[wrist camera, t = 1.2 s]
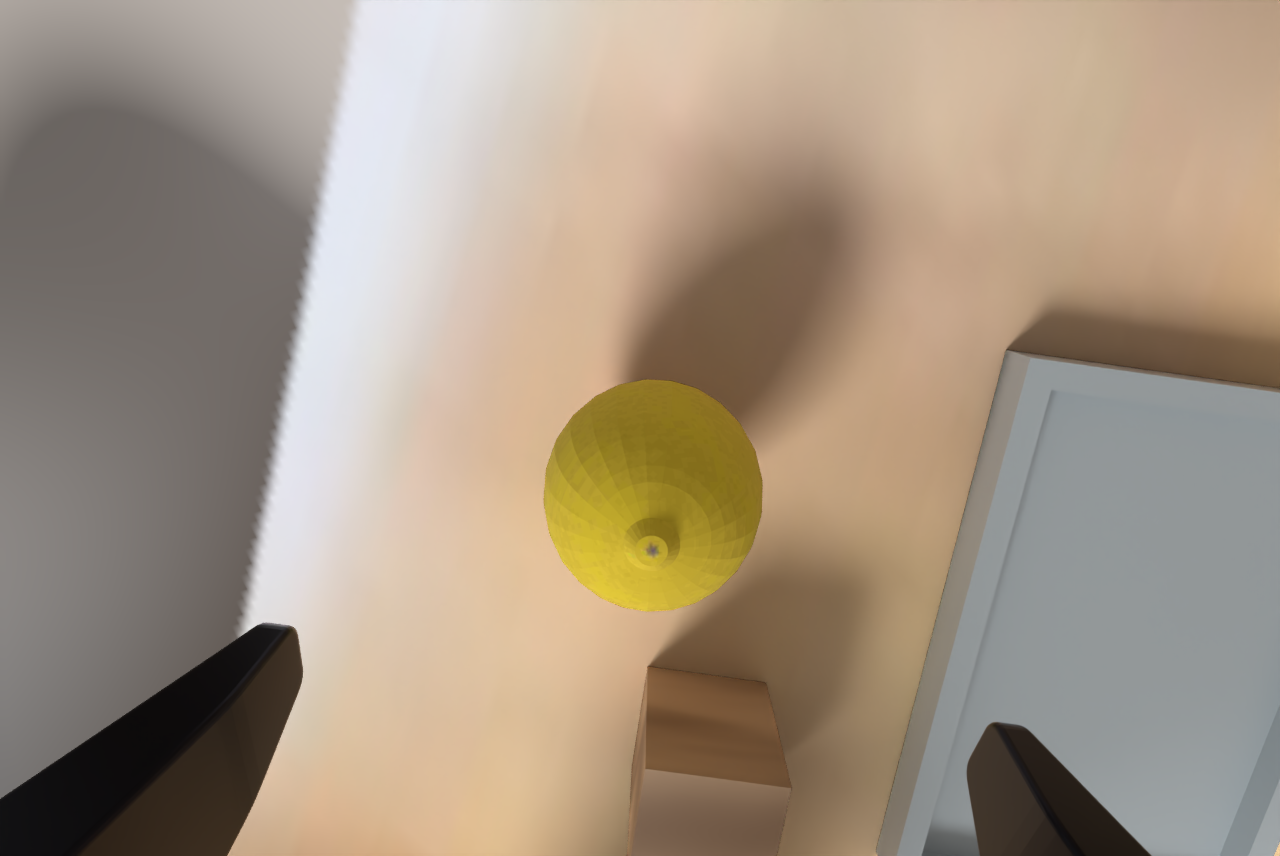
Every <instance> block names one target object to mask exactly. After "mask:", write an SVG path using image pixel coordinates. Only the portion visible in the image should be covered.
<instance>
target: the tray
mask: <svg viewBox="0 0 1280 856" xmlns="http://www.w3.org/2000/svg"><path fill="white" fill-rule="evenodd" d="M992 722H1002V723H1010V724H1017V725H1021V726H1024V727H1025V728H1027V729H1028V730H1029V731H1030V732H1032V733H1033V734H1034V735H1035V736H1036V738H1037V739H1038V740H1039V741H1040V742H1041V743H1042V744H1043V745H1044V746H1045V747H1046V748H1047V749H1048V750H1049V751H1050V752H1051V753H1052V754H1053V755H1054V756H1055V757H1056V758H1057V759H1058V760H1059V761H1060V762H1061V763H1062V764H1063V765H1064V766H1065V767H1066V768H1067V769H1068V770H1069V771H1070V772H1071V773H1072V774H1073V775H1074V776H1075V777H1076V779H1077V780H1078V781H1079V782H1080V783H1081V784H1082V785H1083V786H1084V787H1085V788H1086V789H1087V790H1088V791H1089V792H1090V793H1091V794H1092V795H1093V796H1094V797H1095V798H1096V799H1097V800H1098V801H1099V802H1100V803H1101V804H1102V805H1103V806H1104V807H1105V808H1106V809H1107V810H1108V811H1109V812H1110V813H1111V814H1112V815H1113V816H1114V817H1115V819H1116V820H1117V821H1118V822H1119V823H1120V824H1121V825H1122V826H1123V827H1124V828H1125V829H1126V830H1127V831H1128V832H1129V833H1130V834H1131V835H1132V836H1133V837H1134V838H1135V839H1136V840H1137V841H1138V842H1139V843H1140V844H1141V845H1142V846H1143V847H1144V848H1145V849H1146V850H1147V851H1148V852H1149V853H1150V854H1151V855H1152V856H1274V854H1275V852H1276V849H1277V847H1278V845H1279V842H1280V388H1274V387H1267V386H1260V385H1253V384H1246V383H1238V382H1231V381H1224V380H1217V379H1210V378H1203V377H1196V376H1189V375H1182V374H1174V373H1167V372H1160V371H1153V370H1146V369H1139V368H1132V367H1125V366H1117V365H1110V364H1103V363H1096V362H1089V361H1082V360H1075V359H1068V358H1061V357H1053V356H1046V355H1039V354H1032V353H1025V352H1018V351H1011V350H1006V352H1005V356H1004V360H1003V364H1002V368H1001V371H1000V375H999V379H998V383H997V387H996V391H995V395H994V398H993V402H992V406H991V410H990V414H989V418H988V422H987V425H986V429H985V433H984V437H983V441H982V445H981V448H980V452H979V456H978V460H977V464H976V468H975V472H974V475H973V479H972V483H971V487H970V491H969V495H968V498H967V502H966V506H965V510H964V514H963V518H962V522H961V525H960V529H959V533H958V537H957V541H956V545H955V549H954V552H953V556H952V560H951V564H950V568H949V572H948V575H947V579H946V583H945V587H944V591H943V595H942V599H941V602H940V606H939V610H938V614H937V618H936V622H935V626H934V629H933V633H932V637H931V641H930V645H929V649H928V652H927V656H926V660H925V664H924V668H923V672H922V676H921V679H920V683H919V687H918V691H917V695H916V699H915V703H914V706H913V710H912V714H911V718H910V722H909V726H908V729H907V733H906V737H905V741H904V745H903V749H902V753H901V756H900V760H899V764H898V768H897V772H896V776H895V780H894V783H893V787H892V791H891V795H890V799H889V803H888V806H887V810H886V814H885V818H884V822H883V826H882V830H881V833H880V837H879V841H878V845H877V849H876V852H877V855H878V856H980V855H979V849H978V843H977V837H976V831H975V825H974V819H973V813H972V807H971V801H970V795H969V789H968V783H967V772H966V771H967V764H968V761H969V758H970V756H971V754H972V752H973V751H974V749H975V747H976V745H977V743H978V741H979V740H980V738H981V736H982V734H983V732H984V731H985V729H986V727H987V726H988V725H989V724H991V723H992Z"/></svg>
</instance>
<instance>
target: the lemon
mask: <svg viewBox="0 0 1280 856" xmlns="http://www.w3.org/2000/svg"><path fill="white" fill-rule="evenodd" d="M544 507H545V513H546V518H547V524H548V529H549V533H550V536H551V538H552V540H553V543H554V545H555V547H556V549H557V551H558V553H559V555H560V557H561V559H562V561H563V563H564V564H565V565H566V566H567V568H568V569H569V570H570V571H571V572H572V574H573V575H574V576H575V577H576V578H577V580H578V581H579V582H580V583H581V584H583V585H584V586H585V587H587V588H588V589H589V590H591V591H592V592H593V593H595V594H596V595H597V596H599V597H600V598H602V599H604V600H607V601H609V602H611V603H614V604H616V605H618V606H621V607H623V608H629V609H635V610H641V611H647V612H648V611H666V610H674V609H677V608H681V607H684V606H687V605H691V604H694V603H696V602H698V601H700V600H701V599H703V598H705V597H707V596H708V595H710V594H712V593H713V592H715V591H716V590H718V589H719V588H720V587H721V586H722V585H723V584H724V583H725V582H726V581H727V580H728V579H729V578H730V577H731V576H732V575H733V574H734V573H736V572H737V570H738V568H739V567H740V565H741V563H742V562H743V560H744V559H745V557H746V555H747V554H748V552H749V550H750V549H751V547H752V545H753V542H754V538H755V535H756V532H757V528H758V525H759V521H760V518H761V513H762V477H761V473H760V469H759V465H758V461H757V456H756V452H755V449H754V448H753V446H752V444H751V442H750V440H749V439H748V437H747V435H746V433H745V431H744V430H743V428H742V426H741V424H740V423H739V422H738V421H737V420H736V419H735V418H734V417H733V416H732V415H731V414H730V412H729V411H728V410H727V409H726V408H725V407H724V406H723V405H722V404H721V403H720V402H718V401H717V400H715V399H713V398H712V397H710V396H708V395H707V394H705V393H704V392H702V391H700V390H699V389H697V388H694V387H690V386H687V385H684V384H681V383H677V382H674V381H667V380H647V379H645V380H640V381H635V382H630V383H625V384H620V385H618V386H616V387H613V388H611V389H609V390H607V391H605V392H603V393H601V394H599V395H597V396H595V397H594V398H593V399H592V400H591V401H589V402H588V403H587V404H586V405H585V406H584V407H582V408H581V409H580V410H579V411H578V412H576V413H575V414H574V415H573V416H572V418H571V419H570V421H569V422H568V424H567V425H566V426H565V428H564V429H563V431H562V432H561V433H560V435H559V436H558V438H557V440H556V442H555V445H554V448H553V451H552V453H551V456H550V459H549V462H548V464H547V468H546V476H545V488H544Z"/></svg>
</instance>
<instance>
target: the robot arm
mask: <svg viewBox="0 0 1280 856" xmlns="http://www.w3.org/2000/svg"><path fill="white" fill-rule="evenodd" d="M302 678H303V666H302V659H301V652H300V646H299V639H298V634H297V631H296V629H295V628H294V627H292V626H289V625H281V624H274V623H262V624H259V625H257V626H255V627H254V628H252V629H251V630H249V631H248V632H246V633H245V634H243V635H242V636H241V637H239V638H238V639H236V640H235V641H233V642H232V643H230V644H229V645H228V646H226V647H224V648H223V649H221V650H220V651H218V652H217V653H215V654H214V655H212V656H211V657H209V658H208V659H206V660H205V661H203V662H202V663H201V664H199V665H198V666H196V667H195V668H193V669H192V670H190V671H189V672H187V673H186V674H184V675H183V676H181V677H180V678H178V679H177V680H175V681H174V682H172V683H171V684H169V685H168V686H167V687H165V688H163V689H162V690H161V691H159V692H158V693H156V694H155V695H153V696H152V697H150V698H149V699H147V700H146V701H144V702H143V703H141V704H140V705H138V706H137V707H135V708H134V709H132V710H131V711H129V712H128V713H126V714H125V715H124V716H122V717H121V718H119V719H118V720H116V721H115V722H113V723H112V724H110V725H109V726H107V727H106V728H104V729H103V730H101V731H100V732H98V733H97V734H95V735H94V736H92V737H91V738H89V739H88V740H87V741H85V742H84V743H82V744H81V745H79V746H78V747H76V748H75V749H73V750H72V751H70V752H69V753H67V754H66V755H64V756H63V757H62V758H60V759H58V760H57V761H55V762H54V763H52V764H51V765H49V766H48V767H46V768H45V769H43V770H42V771H41V772H39V773H38V774H36V775H35V776H33V777H32V778H31V779H29V780H27V781H26V782H24V783H23V784H21V785H20V786H18V787H17V788H16V789H14V790H13V791H11V792H9V793H8V794H6V795H5V796H4V797H2V798H1V799H0V856H227V855H228V853H229V851H230V849H231V847H232V845H233V844H234V842H235V840H236V838H237V836H238V834H239V832H240V830H241V828H242V826H243V824H244V822H245V820H246V818H247V816H248V814H249V812H250V810H251V808H252V806H253V804H254V802H255V799H256V797H257V795H258V792H259V790H260V788H261V785H262V783H263V780H264V778H265V775H266V773H267V770H268V768H269V765H270V763H271V760H272V758H273V755H274V753H275V750H276V748H277V745H278V742H279V740H280V737H281V735H282V732H283V730H284V727H285V725H286V722H287V720H288V717H289V715H290V712H291V710H292V707H293V705H294V702H295V700H296V697H297V695H298V692H299V689H300V687H301V683H302ZM966 772H967V783H968V789H969V795H970V801H971V807H972V813H973V819H974V825H975V831H976V837H977V843H978V849H979V855H980V856H1152V855H1151V854H1150V853H1149V852H1148V851H1147V850H1146V849H1145V848H1144V847H1143V846H1142V845H1141V844H1140V843H1139V842H1138V841H1137V840H1136V839H1135V838H1134V837H1133V836H1132V835H1131V834H1130V833H1129V832H1128V831H1127V830H1126V829H1125V828H1124V827H1123V826H1122V825H1121V824H1120V823H1119V822H1118V821H1117V820H1116V819H1115V817H1114V816H1113V815H1112V814H1111V813H1110V812H1109V811H1108V810H1107V809H1106V808H1105V807H1104V806H1103V805H1102V804H1101V803H1100V802H1099V801H1098V800H1097V799H1096V798H1095V797H1094V796H1093V795H1092V794H1091V793H1090V792H1089V791H1088V790H1087V789H1086V788H1085V787H1084V786H1083V785H1082V784H1081V783H1080V782H1079V781H1078V780H1077V779H1076V777H1075V776H1074V775H1073V774H1072V773H1071V772H1070V771H1069V770H1068V769H1067V768H1066V767H1065V766H1064V765H1063V764H1062V763H1061V762H1060V761H1059V760H1058V759H1057V758H1056V757H1055V756H1054V755H1053V754H1052V753H1051V752H1050V751H1049V750H1048V749H1047V748H1046V747H1045V746H1044V745H1043V744H1042V743H1041V742H1040V741H1039V740H1038V739H1037V738H1036V736H1035V735H1034V734H1033V733H1032V732H1030V731H1029V730H1028V729H1027V728H1025V727H1024V726H1021V725H1017V724H1010V723H1002V722H992V723H991V724H989V725H988V726H987V727H986V729H985V731H984V732H983V734H982V736H981V738H980V740H979V741H978V743H977V745H976V747H975V749H974V751H973V752H972V754H971V756H970V758H969V761H968V764H967V771H966Z"/></svg>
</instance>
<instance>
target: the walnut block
mask: <svg viewBox="0 0 1280 856" xmlns="http://www.w3.org/2000/svg"><path fill="white" fill-rule="evenodd" d="M791 790H792V787H791V783H790V779H789V775H788V771H787V767H786V762H785V758H784V754H783V750H782V746H781V742H780V738H779V734H778V730H777V725H776V721H775V717H774V713H773V709H772V705H771V701H770V697H769V693H768V688H767V684H766V683H765V682H758V681H750V680H743V679H736V678H728V677H721V676H714V675H706V674H699V673H692V672H684V671H677V670H670V669H662V668H655V667H647V674H646V680H645V686H644V693H643V699H642V705H641V712H640V718H639V724H638V731H637V737H636V744H635V750H634V756H633V763H632V771H631V791H630V812H629V832H628V852H627V856H777V853H778V848H779V844H780V839H781V835H782V830H783V826H784V821H785V817H786V812H787V808H788V803H789V799H790V794H791Z"/></svg>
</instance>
